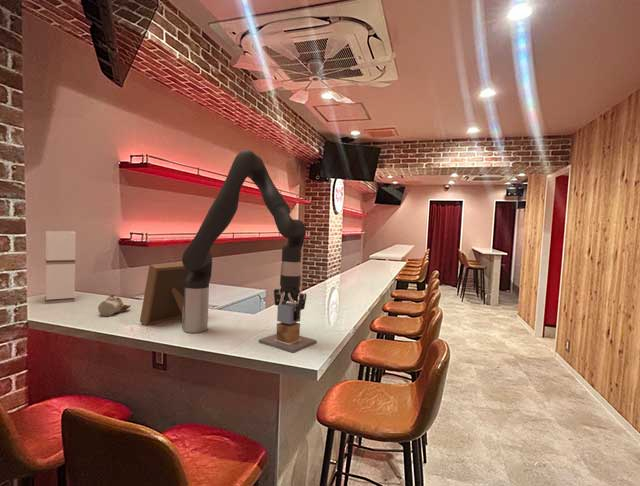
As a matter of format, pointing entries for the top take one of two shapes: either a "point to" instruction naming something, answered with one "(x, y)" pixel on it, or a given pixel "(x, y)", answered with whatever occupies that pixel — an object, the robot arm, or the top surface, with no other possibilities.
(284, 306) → the slate block
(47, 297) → the white stacked pillar
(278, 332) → the walnut block
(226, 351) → the top surface
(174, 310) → the photo frame
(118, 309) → the ceramic sculpture
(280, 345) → the base plate
